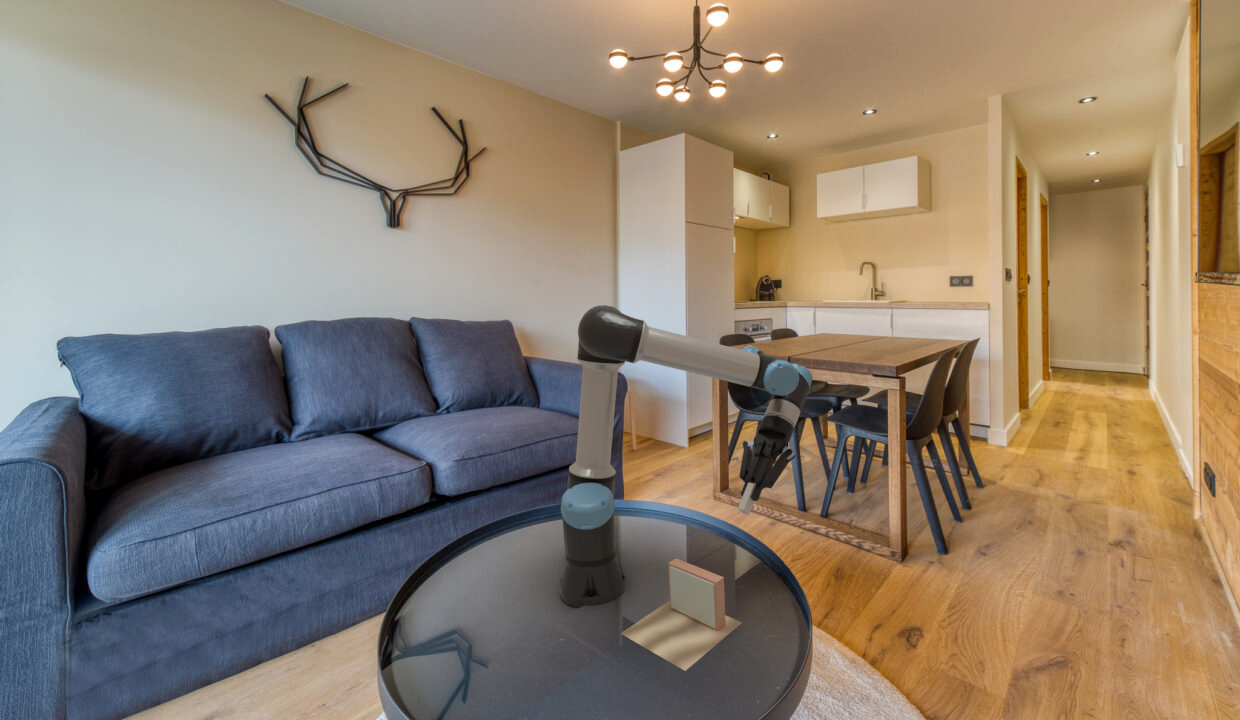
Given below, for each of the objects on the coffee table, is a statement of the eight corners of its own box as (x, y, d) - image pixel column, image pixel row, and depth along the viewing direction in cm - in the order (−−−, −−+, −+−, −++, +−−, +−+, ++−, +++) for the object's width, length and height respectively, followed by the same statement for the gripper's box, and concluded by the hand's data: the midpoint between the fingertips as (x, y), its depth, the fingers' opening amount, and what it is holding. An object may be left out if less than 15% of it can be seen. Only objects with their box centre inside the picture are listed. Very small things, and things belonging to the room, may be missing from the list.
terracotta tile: (669, 608, 112) (667, 563, 110) (678, 602, 114) (675, 558, 112) (717, 632, 103) (715, 583, 102) (725, 625, 105) (723, 577, 104)
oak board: (620, 637, 105) (620, 633, 104) (679, 597, 117) (678, 594, 117) (685, 675, 93) (685, 670, 93) (742, 626, 106) (742, 622, 106)
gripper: (810, 434, 126) (776, 526, 116) (760, 427, 135) (725, 512, 125) (799, 417, 121) (763, 511, 112) (748, 410, 130) (711, 497, 121)
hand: (743, 511), depth 118 cm, fingers closed
